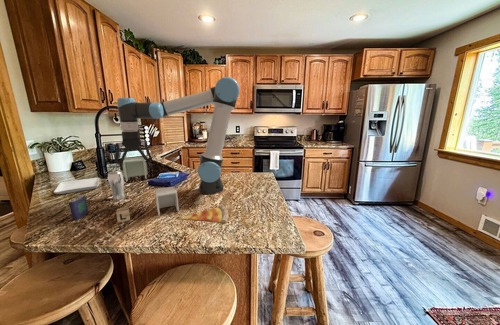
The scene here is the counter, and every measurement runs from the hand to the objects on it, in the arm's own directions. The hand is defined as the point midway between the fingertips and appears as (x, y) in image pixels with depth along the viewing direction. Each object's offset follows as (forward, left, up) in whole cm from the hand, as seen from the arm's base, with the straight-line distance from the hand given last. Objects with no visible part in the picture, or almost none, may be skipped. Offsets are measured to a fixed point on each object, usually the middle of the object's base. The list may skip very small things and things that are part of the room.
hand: (136, 175), depth 104 cm
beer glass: (+16, -7, -16) cm, 23 cm away
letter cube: (-2, +17, -16) cm, 23 cm away
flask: (+20, +14, -16) cm, 29 cm away
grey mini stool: (-18, +8, -16) cm, 25 cm away
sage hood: (0, 0, -1) cm, 1 cm away
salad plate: (+53, -24, -16) cm, 60 cm away
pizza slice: (-39, +11, -16) cm, 44 cm away
